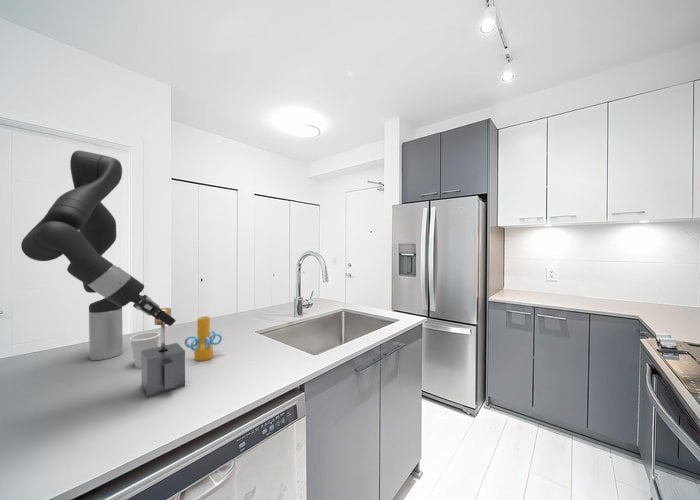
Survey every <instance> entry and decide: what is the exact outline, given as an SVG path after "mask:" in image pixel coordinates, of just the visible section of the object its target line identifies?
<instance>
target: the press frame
mask: <svg viewBox="0 0 700 500" xmlns="http://www.w3.org/2000/svg"><path fill="white" fill-rule="evenodd" d="M141 362H142V367H141V388H142V390H143V392H144V394H145V396H146V398H147V400H148V399H150V398H153V397H156V396H159V395H162V394H165V393H168V392H172V391H174V390H179V389H181V388H184V387H186V350H185V349H184V348H183V347H182V346H181V345H180V344H178V342H175V343H169V344H165V352H161V345H159V346H158V347H156V348H151V349H147V350H142V351H141Z"/></svg>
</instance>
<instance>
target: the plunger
mask: <svg viewBox="0 0 700 500" xmlns="http://www.w3.org/2000/svg"><path fill="white" fill-rule="evenodd" d="M160 308H161V310H164V311H165V312H166V314H168V315H169V316H171V317H172V308H171V307H163V308H162V307H160ZM159 312H161V311H159V310H158V311H157V312H156V313H155V315H157V314H158V313H159ZM155 325H156V326H160V346H161V352H165V345H166V324H165V323H164V322H162V321H161V320H158V319H155V318H154V326H155Z"/></svg>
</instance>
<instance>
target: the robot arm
mask: <svg viewBox="0 0 700 500" xmlns="http://www.w3.org/2000/svg"><path fill="white" fill-rule="evenodd" d="M69 162H70V165H69V166H70V174H71V179H72V183H73V189H71V190H68V191H66V192H64V193H63V194H62V195H60V196H59V197H57V199H56V200H55V201H54V202H53V204H52V206H50V208H49V209H48V211H47V213H46V214H45V215H44V217H43V218H41V220H39V222H38V223H36V225H35V226H34V227H33V228H32V229H31V230H29V231H28V233H27V234H26V235H25V236H24V237H23V238H22V240H21V246H20V248H21V251H22V252H23V254H25V256H26V257H27V258H29V259H31V260H34V261H37V262H50V261H53V260H56V259H58V258H59V257H62V256H64V257H65V258H66V259H67V260H68V261H69V264H68V266H67V269H66V270H67V272H68V274H69V275H70V276H72V277H74V278H75V279H77V280H79V281H80V282H81V283H82V287H83V289H84V291H85V292H86V293H91V294H92V293H93V294H94V293H95V294H96V293H97V294H99V295H100V296H102V297H103V298H102V299H99V300H96V301H93V302H92V303H90V304H89V305H88V336H89V337H88V339H89V340H88V343H89V347H88V350H89V351H88V352H89V358H88V359H89V361H90V360H91V361H101V360H108V359H111V358H115V357H118V356H120V355H121V354H122V353H123V351H124V350H123V341H124V339H123V307H126V305H128V304H129V303H133V305H132V307H133V308H134V309H136V310H138V311H141V312H142V313H144V314H146V315H147V316H151V317H153V318H154V320H155V319H158V320H161V321H162V322H164V323H165V325H167V326H168V327H171V326H173V325H174V324H175V323H176V321H177V320H176V319H175V318H174V317H172V315H171V316H169V315H168V314H166V312H165V311H164V310H161V308H162V307H160V305H159V304H157V303H156V302H155V301H154V300H152V298H151V297H149V296H148V295H146V294H144V295H141V293H142V292H143V291H144V289H145V285H144V284H143V283H142V282H141V281H139V280H138V279H137V278H135V277H134V276H133V275H131V274H129V273H128V272H127V271H125V270H124V269H122V268H121V267H119V266H117V265H115V264H113V263H112V262H111V261H109V260H108V259H106V258H105V257H103V255H104V254H105V253H106V252H107V251H108V250H109V249H110V248H111V247H112V246H113V244H114V243H115V242H116V240H117V222H116V219H115V217H114V216H113V214H112V213H111V212H110V211H109V209H108V208H107V207H106V206H105V205H104V204H103V203H102V201H104V199H105V198H106V197H108V195H109V194H110V193H111V192H112V191H114V189H116V187H118V185H119V184H120V182H121V180H122V176H123V168H122V163H121V161H119V160H118V159H117V158H115V157H113V156H108V155H104V154H99V153H95V152H89V151H83V150H75V151H73V153H72V155H71V156H70V161H69ZM158 310H159V311H161V312H159V313H158V314H157V315H155V313H156V312H157V311H158Z"/></svg>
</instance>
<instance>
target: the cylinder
mask: <svg viewBox="0 0 700 500" xmlns="http://www.w3.org/2000/svg"><path fill="white" fill-rule="evenodd" d="M196 319H197V322H196V323H197V325H196V326H197V328H196V329H197V333H196V335H197V336H195V335H190V336H187V337H186V338H185V340H184V345H185V346H186V348H190V350H191V351H193V352H194V356H193V357H194V361H196V362H204V361H207V360H210V359H212V358H213V355H214V346H217V345H219V344H221V342H222V340H223V337H222V335H221V334H220V333H216V332H215V331H214V330H211V323H210V320H211V318H210V316H208V315H207V316H206V315H205V316H198V317H197V318H196ZM216 336H217V337H218V338H219V340H218V341H217V342H214V341H215V339H216ZM190 339H192V340H191V342H190V344H188V341H189V340H190Z"/></svg>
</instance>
